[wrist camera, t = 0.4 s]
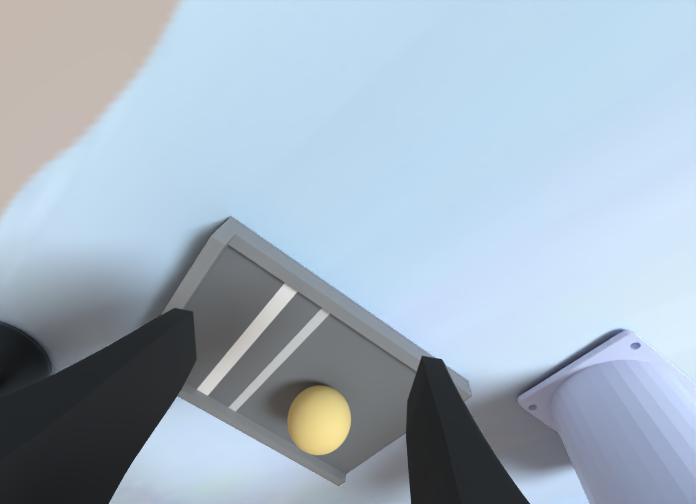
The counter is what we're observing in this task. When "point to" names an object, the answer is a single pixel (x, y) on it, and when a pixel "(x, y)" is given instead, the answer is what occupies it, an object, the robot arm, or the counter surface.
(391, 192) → the counter surface
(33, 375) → the supplement bottle
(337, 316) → the lane
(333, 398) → the ball
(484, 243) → the counter surface
